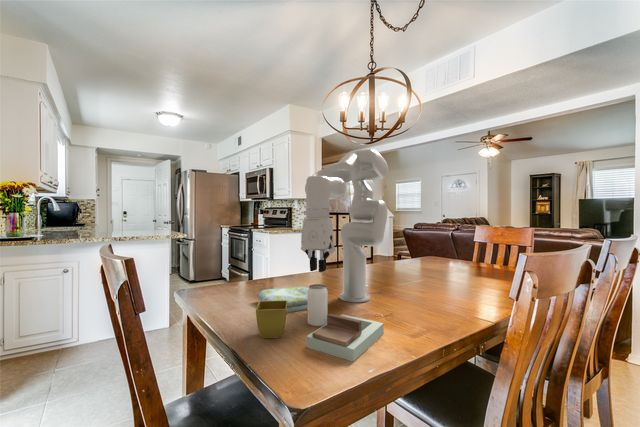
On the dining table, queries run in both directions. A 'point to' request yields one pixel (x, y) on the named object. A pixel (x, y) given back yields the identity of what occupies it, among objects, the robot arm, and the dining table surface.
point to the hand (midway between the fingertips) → (317, 270)
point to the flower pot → (271, 318)
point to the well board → (356, 347)
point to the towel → (287, 297)
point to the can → (317, 305)
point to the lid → (339, 330)
